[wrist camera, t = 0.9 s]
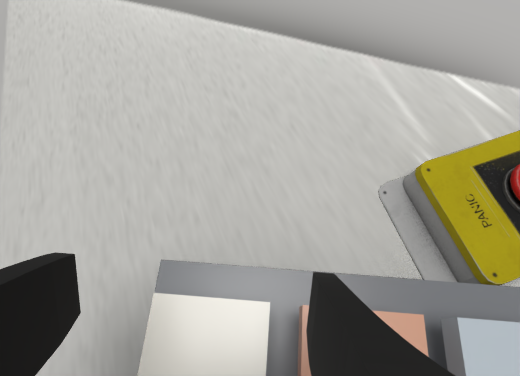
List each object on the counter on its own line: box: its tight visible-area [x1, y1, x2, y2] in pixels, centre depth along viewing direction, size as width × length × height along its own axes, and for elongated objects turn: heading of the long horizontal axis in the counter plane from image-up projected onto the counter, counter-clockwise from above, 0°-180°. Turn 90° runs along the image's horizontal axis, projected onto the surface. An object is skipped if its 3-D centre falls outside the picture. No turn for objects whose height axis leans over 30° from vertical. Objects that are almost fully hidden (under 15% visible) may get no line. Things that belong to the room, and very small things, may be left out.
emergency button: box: [378, 130, 520, 286], centre depth 23 cm, size 9×4×15 cm
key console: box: [155, 260, 520, 376], centre depth 19 cm, size 10×22×3 cm, turn 86°
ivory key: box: [137, 293, 270, 376], centre depth 16 cm, size 6×6×4 cm
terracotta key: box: [298, 305, 428, 376], centre depth 16 cm, size 6×6×4 cm
